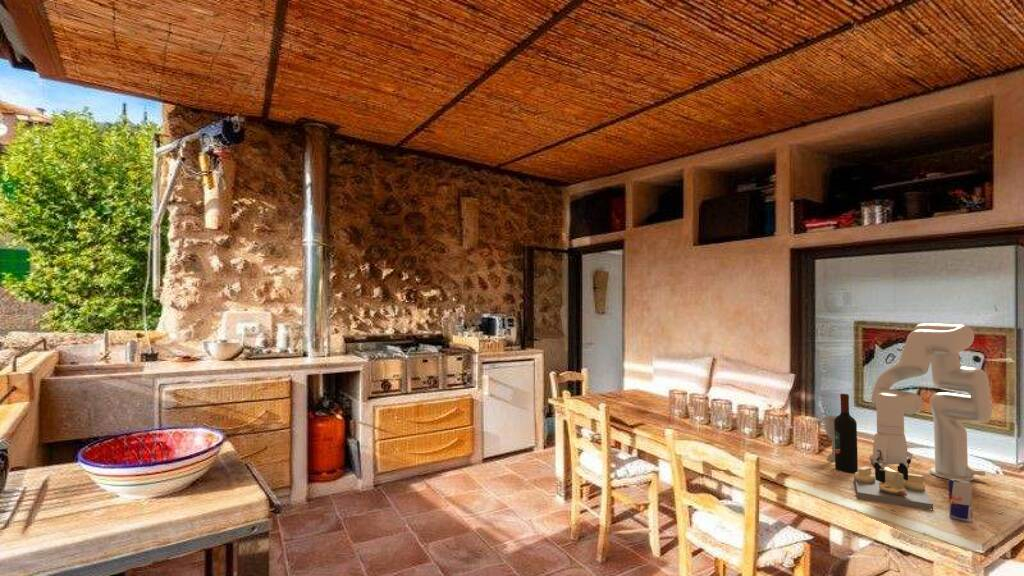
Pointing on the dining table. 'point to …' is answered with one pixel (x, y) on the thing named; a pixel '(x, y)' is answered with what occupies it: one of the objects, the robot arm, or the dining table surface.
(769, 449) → the dining table surface
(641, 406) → the dining table surface
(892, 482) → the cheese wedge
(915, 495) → the base
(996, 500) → the dining table surface
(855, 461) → the wine bottle
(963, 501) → the energy drink
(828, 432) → the chalice
